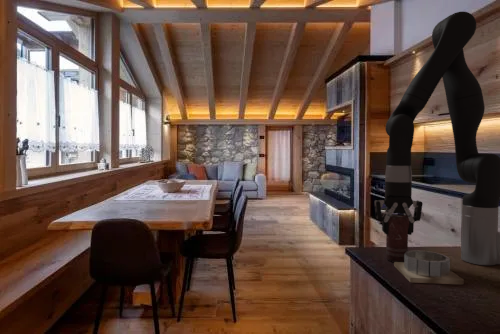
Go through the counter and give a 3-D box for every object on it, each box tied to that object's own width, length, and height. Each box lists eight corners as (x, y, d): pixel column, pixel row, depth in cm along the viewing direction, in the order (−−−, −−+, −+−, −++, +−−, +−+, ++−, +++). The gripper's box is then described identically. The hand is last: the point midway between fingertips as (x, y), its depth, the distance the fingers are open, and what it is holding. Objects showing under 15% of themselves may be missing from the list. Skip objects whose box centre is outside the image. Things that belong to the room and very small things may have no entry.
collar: (438, 264, 98) (438, 250, 98) (457, 278, 88) (457, 262, 88) (399, 263, 100) (399, 249, 99) (413, 276, 89) (413, 261, 89)
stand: (440, 267, 100) (440, 263, 99) (463, 284, 87) (463, 279, 87) (394, 265, 101) (394, 261, 101) (410, 282, 88) (410, 277, 88)
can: (410, 263, 102) (411, 217, 102) (388, 262, 104) (388, 216, 103) (405, 257, 108) (406, 213, 108) (384, 256, 110) (385, 213, 109)
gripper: (417, 179, 108) (417, 231, 109) (371, 179, 110) (370, 230, 110) (427, 181, 101) (426, 237, 101) (377, 181, 102) (376, 236, 103)
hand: (397, 233), depth 106 cm, fingers closed on can, 6 cm apart
